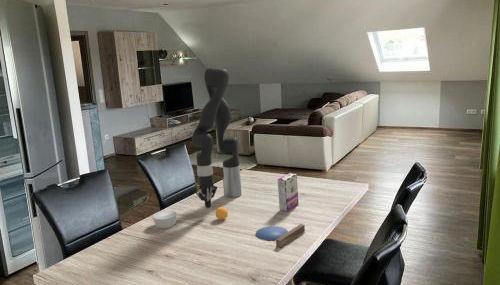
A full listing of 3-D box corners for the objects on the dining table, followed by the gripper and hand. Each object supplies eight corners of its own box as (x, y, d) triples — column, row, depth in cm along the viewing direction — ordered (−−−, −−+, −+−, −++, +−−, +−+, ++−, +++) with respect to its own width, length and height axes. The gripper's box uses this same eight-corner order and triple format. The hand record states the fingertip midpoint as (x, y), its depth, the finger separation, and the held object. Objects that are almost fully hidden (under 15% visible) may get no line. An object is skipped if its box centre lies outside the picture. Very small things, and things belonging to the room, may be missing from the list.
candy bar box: (290, 203, 204) (289, 172, 201) (298, 204, 201) (297, 173, 198) (278, 210, 195) (277, 178, 192) (287, 212, 192) (285, 179, 189)
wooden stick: (276, 246, 157) (275, 239, 157) (300, 230, 171) (300, 223, 170) (280, 247, 156) (280, 240, 155) (304, 231, 169) (304, 224, 169)
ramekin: (172, 230, 180) (170, 219, 179) (149, 229, 183) (148, 219, 182) (181, 220, 191) (180, 210, 190) (159, 220, 193) (158, 210, 192)
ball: (213, 220, 189) (212, 208, 187) (221, 215, 193) (220, 204, 192) (222, 222, 185) (221, 210, 183) (230, 218, 189) (229, 206, 188)
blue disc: (249, 235, 169) (249, 235, 169) (268, 224, 179) (268, 223, 179) (275, 243, 160) (275, 243, 160) (294, 231, 170) (294, 230, 170)
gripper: (209, 169, 198) (212, 202, 201) (189, 176, 188) (193, 210, 191) (220, 171, 193) (223, 204, 196) (200, 177, 183) (204, 213, 186)
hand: (208, 207), depth 193 cm, fingers closed
